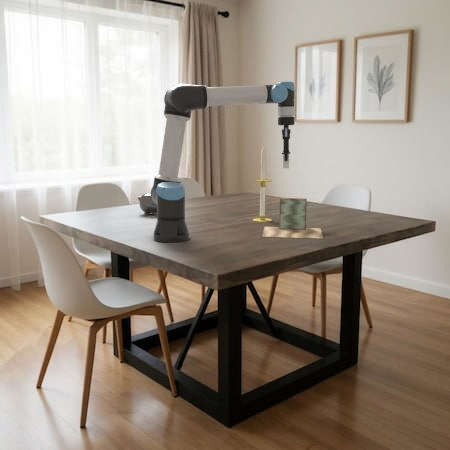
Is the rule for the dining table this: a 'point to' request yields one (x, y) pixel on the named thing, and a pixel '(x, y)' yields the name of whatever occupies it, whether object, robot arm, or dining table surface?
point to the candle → (262, 188)
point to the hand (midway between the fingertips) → (286, 168)
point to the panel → (293, 213)
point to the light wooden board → (292, 233)
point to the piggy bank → (147, 204)
